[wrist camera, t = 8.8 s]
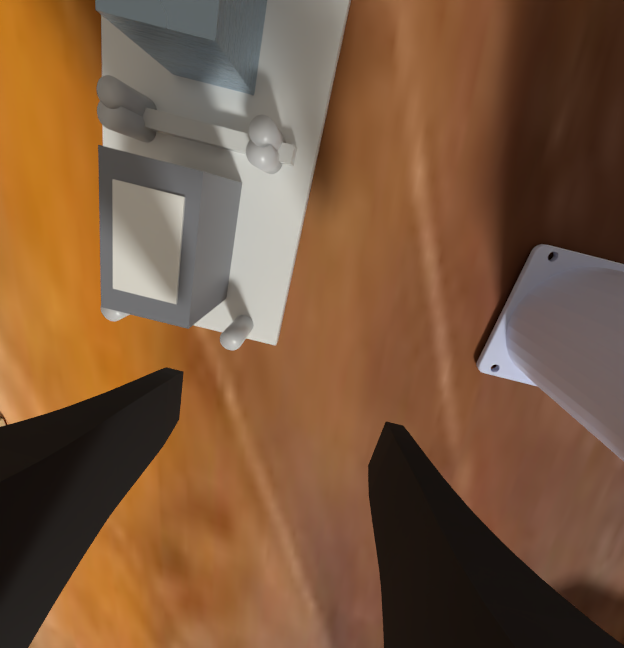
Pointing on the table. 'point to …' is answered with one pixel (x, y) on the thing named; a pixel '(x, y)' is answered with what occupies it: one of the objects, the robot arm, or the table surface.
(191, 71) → the block
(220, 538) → the table surface
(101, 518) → the robot arm
